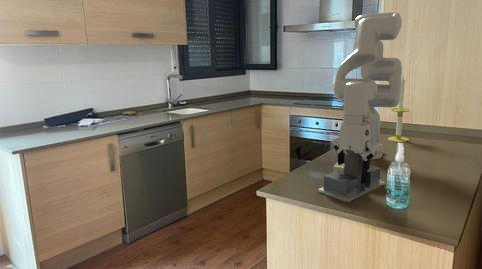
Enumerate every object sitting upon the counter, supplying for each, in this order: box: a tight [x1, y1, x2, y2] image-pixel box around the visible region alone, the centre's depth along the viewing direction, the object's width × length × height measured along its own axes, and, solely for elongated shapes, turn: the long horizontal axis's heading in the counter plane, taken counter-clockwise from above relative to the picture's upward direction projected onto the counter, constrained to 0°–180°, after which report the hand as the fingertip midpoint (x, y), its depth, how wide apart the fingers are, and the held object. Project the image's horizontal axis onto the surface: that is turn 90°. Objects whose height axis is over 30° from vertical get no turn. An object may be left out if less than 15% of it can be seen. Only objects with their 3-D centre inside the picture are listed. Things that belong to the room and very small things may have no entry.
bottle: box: [344, 145, 363, 188], centre depth 128 cm, size 6×6×15 cm
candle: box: [387, 75, 411, 143], centre depth 183 cm, size 10×10×32 cm
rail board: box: [317, 165, 386, 203], centre depth 129 cm, size 22×12×6 cm, turn 129°
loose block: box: [332, 161, 344, 174], centre depth 143 cm, size 5×4×4 cm
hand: (352, 167), depth 128 cm, fingers open, 9 cm apart
